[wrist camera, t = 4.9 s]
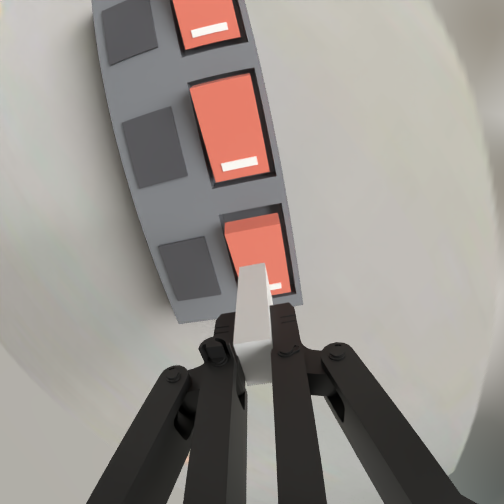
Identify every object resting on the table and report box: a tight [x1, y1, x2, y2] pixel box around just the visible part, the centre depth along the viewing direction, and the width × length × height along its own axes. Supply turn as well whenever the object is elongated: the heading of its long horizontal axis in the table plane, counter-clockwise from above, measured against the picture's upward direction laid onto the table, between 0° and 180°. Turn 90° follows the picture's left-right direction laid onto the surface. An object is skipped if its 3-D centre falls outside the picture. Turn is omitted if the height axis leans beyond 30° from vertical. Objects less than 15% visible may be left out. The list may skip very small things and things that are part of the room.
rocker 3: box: [225, 213, 291, 295], centre depth 26 cm, size 4×8×2 cm, turn 11°
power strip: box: [92, 0, 303, 324], centre depth 26 cm, size 13×44×4 cm, turn 11°
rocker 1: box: [173, 0, 241, 50], centre depth 17 cm, size 4×8×2 cm, turn 11°
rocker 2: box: [190, 73, 270, 182], centre depth 21 cm, size 4×8×2 cm, turn 11°
